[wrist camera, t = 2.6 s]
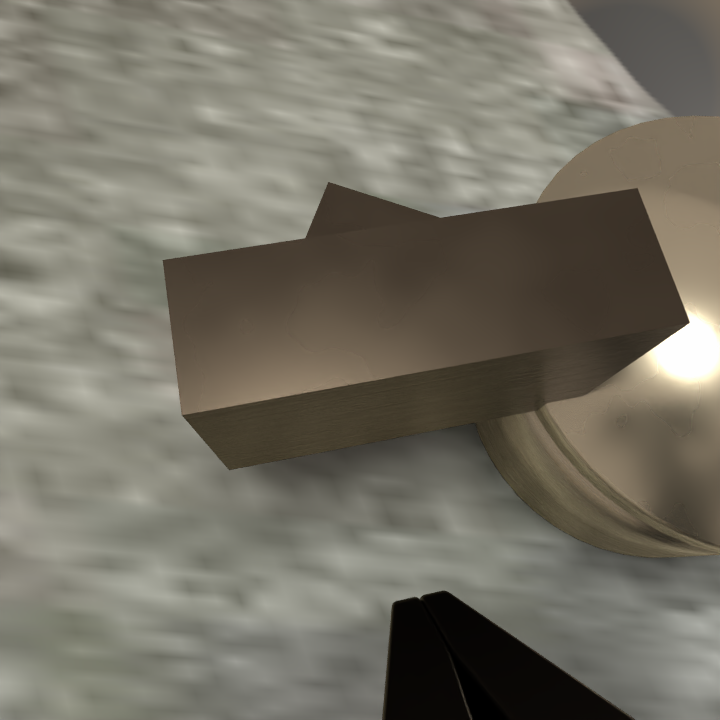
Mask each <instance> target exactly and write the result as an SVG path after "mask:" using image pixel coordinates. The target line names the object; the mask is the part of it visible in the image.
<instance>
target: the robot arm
mask: <svg viewBox="0 0 720 720" xmlns="http://www.w3.org/2000/svg"><path fill="white" fill-rule="evenodd" d="M382 720H635V719H634V718H632V717H631V716H629V715H628V714H627V713H625V712H624V711H622V710H621V709H619V708H618V707H616V706H615V705H613V704H612V703H610V702H609V701H607V700H606V699H605V698H603V697H602V696H600V695H599V694H597V693H596V692H594V691H593V690H591V689H590V688H588V687H587V686H585V685H584V684H583V683H581V682H580V681H578V680H577V679H575V678H574V677H572V676H571V675H569V674H568V673H566V672H565V671H563V670H562V669H561V668H559V667H558V666H556V665H555V664H553V663H552V662H550V661H549V660H547V659H546V658H544V657H543V656H542V655H540V654H539V653H537V652H536V651H534V650H533V649H531V648H530V647H528V646H527V645H525V644H524V643H522V642H521V641H520V640H518V639H517V638H515V637H514V636H512V635H511V634H509V633H508V632H506V631H505V630H503V629H502V628H500V627H499V626H498V625H496V624H495V623H493V622H492V621H490V620H489V619H487V618H486V617H484V616H483V615H481V614H480V613H478V612H477V611H476V610H474V609H473V608H471V607H470V606H468V605H467V604H465V603H464V602H462V601H461V600H459V599H458V598H456V597H455V596H454V595H452V594H451V593H449V592H447V591H439V592H435V593H430V594H426V595H423V596H422V597H421V598H420V599H419V598H417V597H413V598H408V599H404V600H400V601H396V602H394V603H393V605H392V611H391V623H390V635H389V646H388V658H387V670H386V681H385V693H384V705H383V717H382Z"/></svg>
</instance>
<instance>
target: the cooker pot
mask: <svg viewBox="0 0 720 720" xmlns="http://www.w3.org/2000/svg"><path fill="white" fill-rule="evenodd" d="M437 218H439V217H436V216H433V215H430V214H427V213H424V212H420V211H417V210H414V209H411V208H408V207H405V206H402V205H399V204H395V203H392V202H389V201H386V200H383V199H380V198H377V197H374V196H370V195H367V194H364V193H361V192H358V191H355V190H352V189H349V188H345V187H342V186H339V185H336V184H333V183H330V182H328V185H327V187H326V189H325V192H324V194H323V197H322V199H321V202H320V204H319V206H318V209H317V211H316V214H315V216H314V219H313V221H312V224H311V226H310V228H309V231H308V233H307V236H306V238H312V237H319V236H325V235H332V234H338V233H345V232H351V231H358V230H365V229H371V228H378V227H384V226H391V225H397V224H404V223H411V222H417V221H424V220H430V219H437ZM475 424H476V427H477V430H478V433H479V436H480V438H481V440H482V442H483V444H484V446H485V449H486V451H487V453H488V455H489V457H490V458H491V460H492V461H493V463H494V464H495V466H496V468H497V469H498V471H499V472H500V474H501V475H502V477H503V478H504V479H505V480H506V482H507V483H508V484H509V485H510V486H511V488H512V489H513V490H514V491H515V493H516V494H517V495H518V496H519V497H520V498H521V499H522V500H523V501H524V502H525V503H527V504H528V505H529V506H530V507H531V508H532V509H533V510H534V511H535V512H536V513H538V514H539V515H540V516H542V517H543V518H544V519H546V520H547V521H548V522H550V523H551V524H552V525H554V526H555V527H557V528H558V529H560V530H562V531H564V532H566V533H567V534H569V535H571V536H573V537H574V538H576V539H578V540H581V541H583V542H586V543H588V544H590V545H593V546H595V547H598V548H600V549H604V550H608V551H612V552H615V553H619V554H623V555H630V556H638V557H645V558H657V557H687V556H706V555H720V553H718V552H715V551H711V550H707V549H704V548H700V547H696V546H693V545H691V544H688V543H686V542H683V541H681V540H679V539H676V538H674V537H671V536H669V535H666V534H664V533H662V532H660V531H658V530H657V529H655V528H653V527H651V526H649V525H648V524H646V523H644V522H642V521H640V520H639V519H637V518H635V517H633V516H632V515H630V514H629V513H628V512H626V511H625V510H623V509H622V508H621V507H619V506H618V505H617V504H615V503H614V502H612V501H611V500H610V499H608V498H607V497H605V496H604V495H603V494H602V493H601V492H600V491H599V490H598V489H597V488H595V487H594V486H593V485H592V484H591V483H590V482H589V481H588V480H587V479H586V478H585V477H584V476H582V475H581V474H580V473H579V472H578V471H577V469H576V468H575V467H574V466H573V465H572V464H571V462H570V461H569V460H568V459H567V458H566V457H565V455H564V454H563V453H562V452H561V451H560V450H559V449H558V447H557V446H556V444H555V443H554V441H553V440H552V439H551V437H550V436H549V434H548V433H547V431H546V430H545V428H544V427H543V425H542V424H541V422H540V421H539V419H538V417H537V415H536V413H535V411H533V412H527V413H522V414H517V415H512V416H507V417H502V418H496V419H491V420H486V421H481V422H476V423H475Z"/></svg>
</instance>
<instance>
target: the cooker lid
mask: <svg viewBox="0 0 720 720" xmlns="http://www.w3.org/2000/svg"><path fill="white" fill-rule="evenodd" d="M163 265H164V273H165V281H166V290H167V298H168V306H169V314H170V322H171V330H172V339H173V347H174V355H175V363H176V371H177V379H178V388H179V396H180V404H181V412H182V416H183V417H184V418H185V419H186V421H187V422H188V423H189V424H190V425H191V426H192V428H193V429H194V430H195V431H196V432H197V433H198V434H199V436H200V437H201V438H202V439H203V440H204V441H205V443H206V444H207V445H208V446H209V447H210V448H211V450H212V451H213V452H214V453H215V454H216V455H217V456H218V458H219V459H220V460H221V461H222V462H223V463H224V465H225V466H226V467H227V468H228V469H229V470H232V469H238V468H243V467H248V466H253V465H258V464H263V463H269V462H274V461H279V460H284V459H289V458H295V457H300V456H305V455H310V454H315V453H320V452H326V451H331V450H336V449H341V448H346V447H351V446H357V445H362V444H367V443H372V442H377V441H383V440H388V439H393V438H398V437H403V436H408V435H414V434H419V433H424V432H429V431H434V430H439V429H445V428H450V427H455V426H460V425H465V424H470V423H476V422H481V421H486V420H491V419H496V418H502V417H507V416H512V415H517V414H522V413H527V412H533V411H535V413H536V415H537V417H538V419H539V421H540V422H541V424H542V425H543V427H544V428H545V430H546V431H547V433H548V434H549V436H550V437H551V439H552V440H553V441H554V443H555V444H556V446H557V447H558V449H559V450H560V451H561V452H562V453H563V454H564V455H565V457H566V458H567V459H568V460H569V461H570V462H571V464H572V465H573V466H574V467H575V468H576V469H577V471H578V472H579V473H580V474H581V475H582V476H584V477H585V478H586V479H587V480H588V481H589V482H590V483H591V484H592V485H593V486H594V487H595V488H597V489H598V490H599V491H600V492H601V493H602V494H603V495H604V496H605V497H607V498H608V499H610V500H611V501H612V502H614V503H615V504H617V505H618V506H619V507H621V508H622V509H623V510H625V511H626V512H628V513H629V514H630V515H632V516H633V517H635V518H637V519H639V520H640V521H642V522H644V523H646V524H648V525H649V526H651V527H653V528H655V529H657V530H658V531H660V532H662V533H664V534H666V535H669V536H671V537H674V538H676V539H679V540H681V541H683V542H686V543H688V544H691V545H693V546H696V547H700V548H704V549H707V550H711V551H715V552H718V553H720V117H711V116H710V117H709V116H686V117H685V116H684V117H672V118H664V119H659V120H654V121H649V122H644V123H640V124H637V125H634V126H631V127H628V128H625V129H622V130H619V131H617V132H615V133H613V134H611V135H609V136H607V137H605V138H603V139H601V140H599V141H597V142H595V143H594V144H592V145H591V146H589V147H588V148H586V149H585V150H584V151H582V152H581V153H579V154H578V155H576V156H575V157H574V158H573V159H572V160H571V161H570V162H569V163H568V164H567V165H566V166H564V167H563V168H562V169H561V170H560V171H559V172H558V173H557V174H556V176H555V177H554V178H553V180H552V181H551V182H550V183H549V185H548V186H547V187H546V189H545V190H544V191H543V192H542V194H541V196H540V198H539V199H538V201H537V203H535V204H529V205H522V206H516V207H509V208H502V209H496V210H489V211H483V212H476V213H470V214H463V215H456V216H450V217H443V218H437V219H430V220H424V221H417V222H411V223H404V224H397V225H391V226H384V227H378V228H371V229H365V230H358V231H351V232H345V233H338V234H332V235H325V236H319V237H312V238H305V239H299V240H292V241H286V242H279V243H273V244H266V245H259V246H253V247H246V248H240V249H233V250H227V251H220V252H213V253H207V254H200V255H194V256H187V257H181V258H174V259H167V260H163Z"/></svg>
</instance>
